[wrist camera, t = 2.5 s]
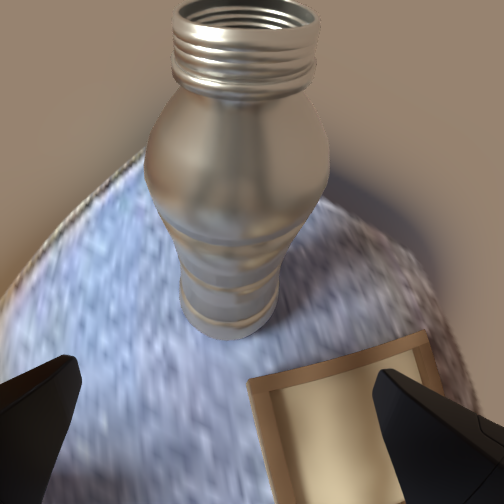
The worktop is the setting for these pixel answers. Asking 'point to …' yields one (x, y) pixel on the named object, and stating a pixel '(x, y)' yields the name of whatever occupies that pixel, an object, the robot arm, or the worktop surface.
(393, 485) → the stand
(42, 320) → the worktop surface
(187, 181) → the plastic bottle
